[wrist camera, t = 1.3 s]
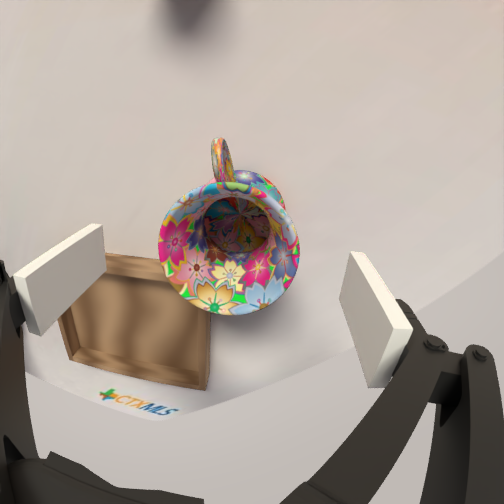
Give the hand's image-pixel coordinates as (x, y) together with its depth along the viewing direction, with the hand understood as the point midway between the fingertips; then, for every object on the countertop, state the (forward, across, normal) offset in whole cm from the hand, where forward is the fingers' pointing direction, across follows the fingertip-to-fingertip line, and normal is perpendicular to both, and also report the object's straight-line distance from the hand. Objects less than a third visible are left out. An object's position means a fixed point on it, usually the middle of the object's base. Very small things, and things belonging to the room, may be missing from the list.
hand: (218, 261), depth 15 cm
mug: (+15, 0, 0) cm, 15 cm away
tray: (+14, -12, -15) cm, 24 cm away
